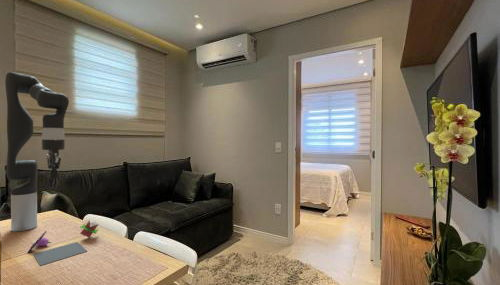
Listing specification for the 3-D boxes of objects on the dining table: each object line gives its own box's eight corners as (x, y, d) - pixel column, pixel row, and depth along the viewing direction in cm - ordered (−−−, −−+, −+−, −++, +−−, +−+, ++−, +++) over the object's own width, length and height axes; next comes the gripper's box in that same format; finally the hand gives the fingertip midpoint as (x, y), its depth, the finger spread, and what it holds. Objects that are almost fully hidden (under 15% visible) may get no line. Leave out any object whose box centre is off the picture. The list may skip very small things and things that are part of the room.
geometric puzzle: (77, 241, 101) (77, 223, 101) (82, 235, 108) (82, 218, 108) (96, 239, 104) (96, 221, 104) (100, 233, 110) (100, 216, 110)
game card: (25, 251, 91) (30, 244, 98) (38, 257, 93) (43, 250, 100) (40, 235, 93) (44, 229, 101) (53, 241, 95) (56, 235, 103)
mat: (33, 254, 90) (33, 253, 90) (77, 242, 101) (77, 241, 101) (40, 265, 82) (40, 265, 82) (87, 251, 93) (87, 250, 93)
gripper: (38, 138, 103) (39, 178, 104) (45, 138, 95) (45, 181, 95) (60, 138, 109) (60, 176, 109) (68, 138, 101) (68, 179, 101)
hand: (53, 178), depth 102 cm, fingers closed
